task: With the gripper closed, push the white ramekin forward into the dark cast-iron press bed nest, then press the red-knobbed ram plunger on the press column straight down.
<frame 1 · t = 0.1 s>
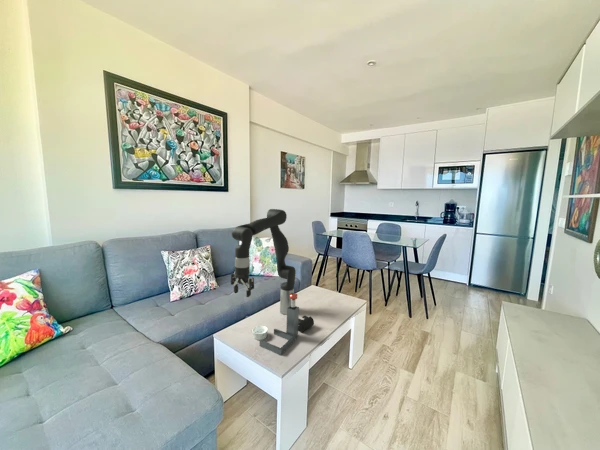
hand: (242, 294, 129), 29 cm above the table, fingers open, 8 cm apart
ram plunger: (293, 303, 139), point 21 cm above the table, slide at 0.0 cm
press: (276, 343, 136), on the table
ramekin: (259, 336, 142), on the table
end cap: (304, 329, 151), on the table
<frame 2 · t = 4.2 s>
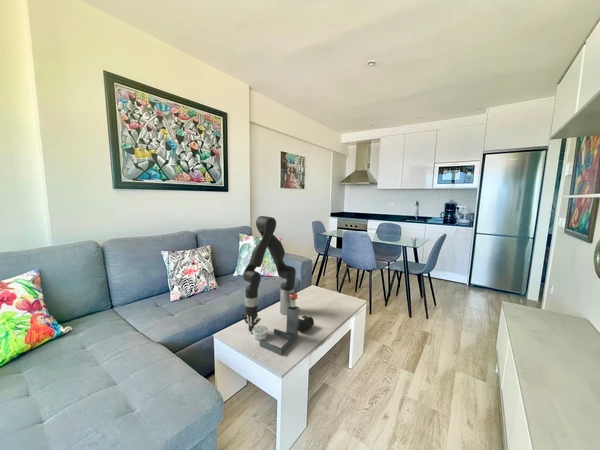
hand: (251, 330, 145), 1 cm above the table, fingers closed
ramekin: (260, 336, 141), on the table, touching gripper
everything else where it was.
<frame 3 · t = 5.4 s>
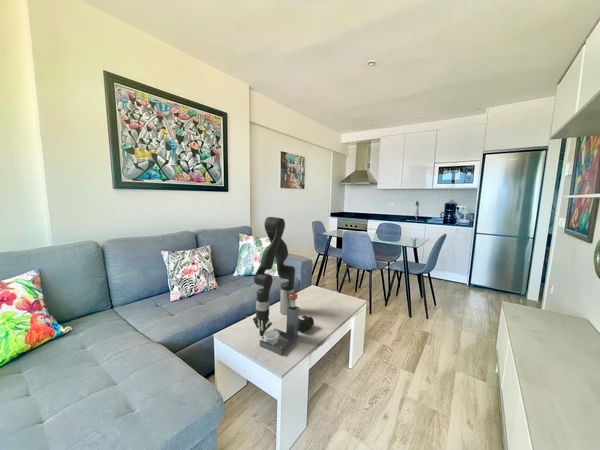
hand: (262, 335, 140), 1 cm above the table, fingers closed
ramekin: (271, 341, 137), on the table, touching gripper
everything else where it was.
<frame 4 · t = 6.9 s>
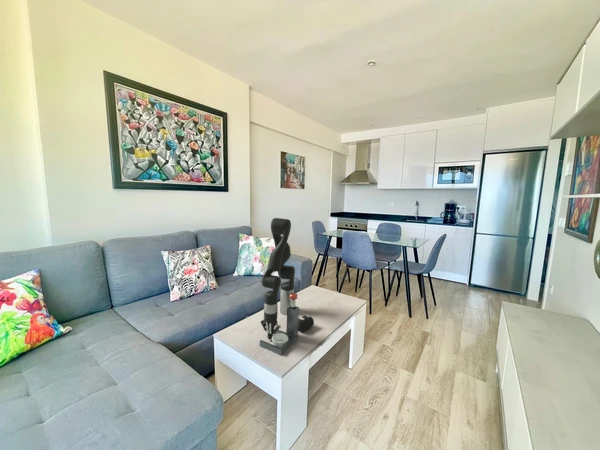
hand: (270, 338, 138), 1 cm above the table, fingers closed
ramekin: (279, 345, 134), on the table, touching gripper
everything else where it was.
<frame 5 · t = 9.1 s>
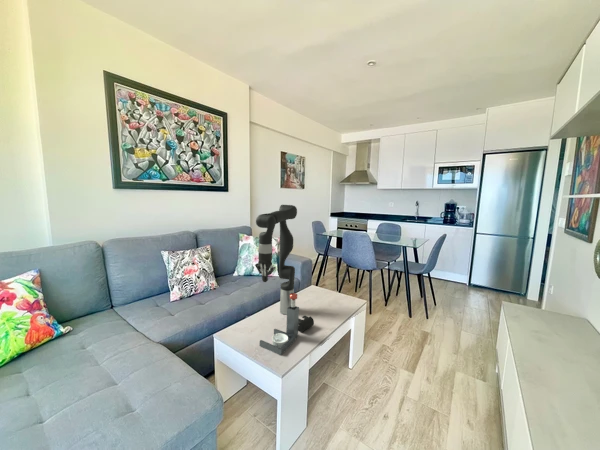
hand: (264, 281, 135), 34 cm above the table, fingers closed
ramekin: (279, 345, 134), on the table
everything else where it was.
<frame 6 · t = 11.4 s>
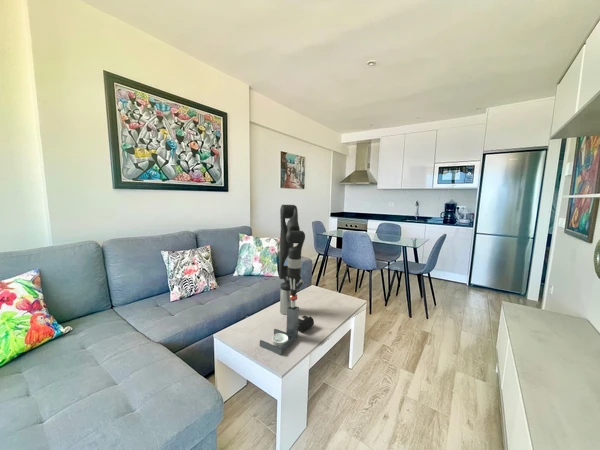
hand: (293, 295, 139), 26 cm above the table, fingers closed
ram plunger: (293, 304, 139), point 20 cm above the table, slide at 0.4 cm, touching gripper
everything else where it was.
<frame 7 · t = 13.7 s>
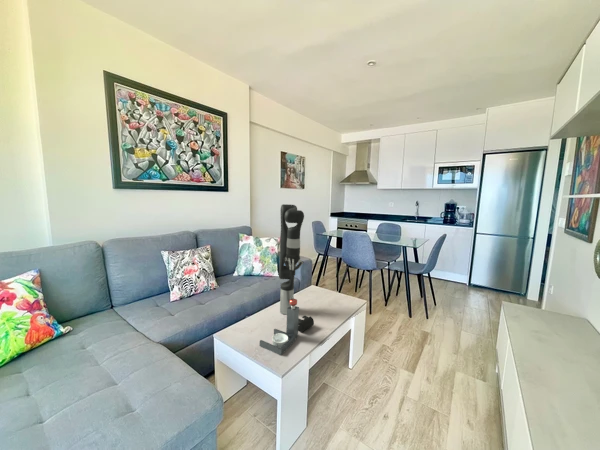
hand: (292, 275, 137), 37 cm above the table, fingers closed
ram plunger: (293, 309, 140), point 17 cm above the table, slide at 3.5 cm
everything else where it was.
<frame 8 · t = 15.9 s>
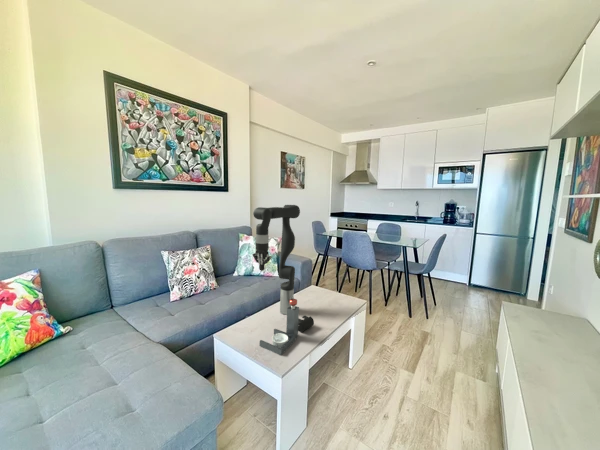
hand: (261, 270, 145), 37 cm above the table, fingers closed
nothing on the table moved.
at the end: ramekin inside the target area on the press (2.0 cm from its centre), point 0.0 cm above the press's base; ram plunger slide at 3.5 cm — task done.
